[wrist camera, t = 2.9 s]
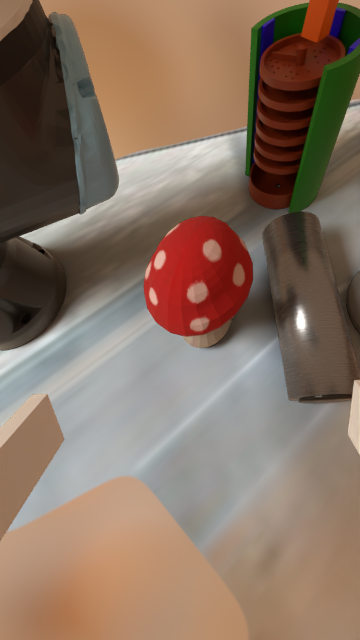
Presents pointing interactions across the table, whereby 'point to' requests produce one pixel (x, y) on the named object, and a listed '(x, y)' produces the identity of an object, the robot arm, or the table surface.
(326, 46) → the motor
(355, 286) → the rubber mat
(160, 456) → the table surface
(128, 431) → the table surface
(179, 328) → the decorative mushroom
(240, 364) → the table surface
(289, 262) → the metal pipe
